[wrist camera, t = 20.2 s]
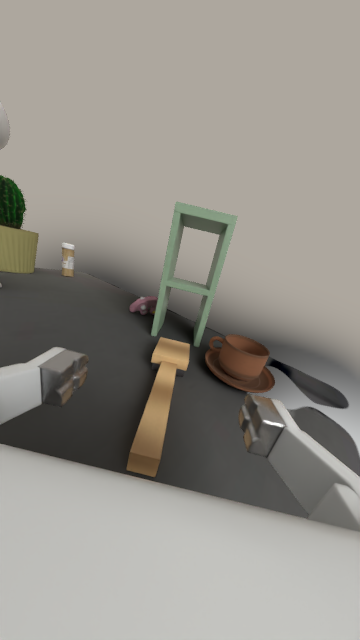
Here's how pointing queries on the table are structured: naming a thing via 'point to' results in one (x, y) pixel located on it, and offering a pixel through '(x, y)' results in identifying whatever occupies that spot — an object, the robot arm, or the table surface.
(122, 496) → the robot arm
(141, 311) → the video game controller
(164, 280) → the sage stand
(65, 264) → the sprinkles bottle
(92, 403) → the table surface
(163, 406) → the desk brush
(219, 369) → the cup and saucer
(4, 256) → the potted cactus
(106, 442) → the table surface
